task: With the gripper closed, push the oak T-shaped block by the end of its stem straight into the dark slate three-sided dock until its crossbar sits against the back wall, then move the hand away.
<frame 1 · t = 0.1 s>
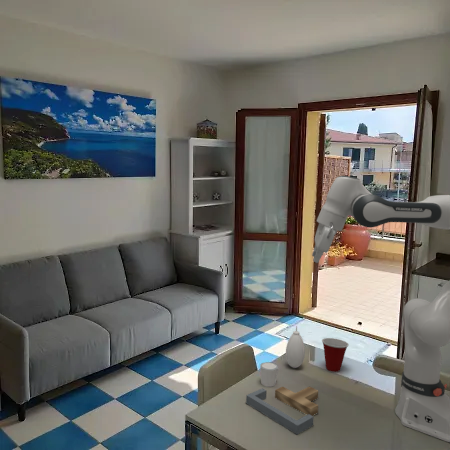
hand: (314, 259, 146), 52 cm above the table, tool tilted 20°, fingers open, 8 cm apart
white cylinder: (268, 383, 166), on the table
t block: (302, 401, 153), on the table
dock: (280, 412, 145), on the table
sauce bottle: (294, 367, 181), on the table
plastic cup: (333, 369, 180), on the table
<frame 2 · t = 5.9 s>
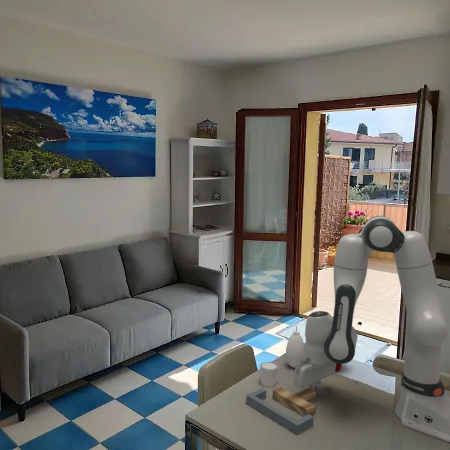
hand: (313, 391, 157), 2 cm above the table, tool pointing down, fingers closed
t block: (300, 402, 152), on the table, touching gripper
everything else where it was.
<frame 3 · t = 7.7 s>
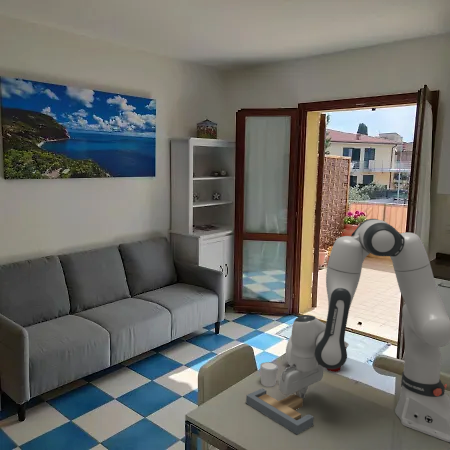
hand: (300, 398, 152), 2 cm above the table, tool pointing down, fingers closed
t block: (286, 409, 147), on the table, touching gripper
everything else where it was.
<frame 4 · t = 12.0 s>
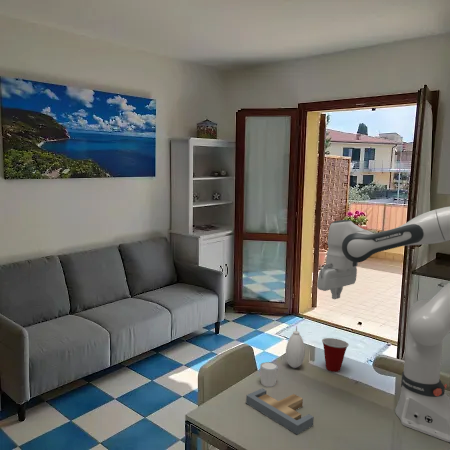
hand: (335, 298, 163), 34 cm above the table, tool pointing down, fingers closed
t block: (286, 410, 147), on the table
everything else where it was.
at the end: t block 1.2 cm from the target spot on the dock, point 0.0 cm above the dock's base; t block tilted 1° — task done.
